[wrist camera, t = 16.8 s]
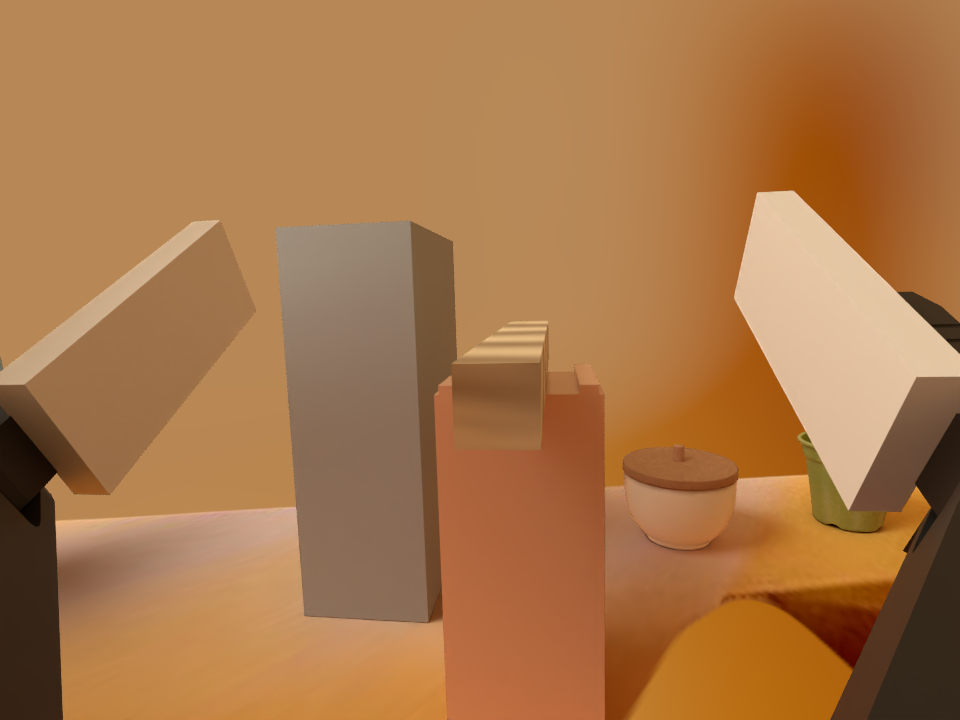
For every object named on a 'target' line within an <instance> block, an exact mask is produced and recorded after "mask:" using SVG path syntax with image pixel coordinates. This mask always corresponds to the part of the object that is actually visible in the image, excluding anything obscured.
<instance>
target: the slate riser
mask: <svg viewBox="0 0 960 720" xmlns="http://www.w3.org/2000/svg"><path fill="white" fill-rule="evenodd" d="M276 240H277V253H278V267H279V281H280V294H281V307H282V321H283V334H284V347H285V361H286V375H287V388H288V401H289V415H290V428H291V441H292V454H293V468H294V481H295V494H296V508H297V522H298V535H299V549H300V562H301V575H302V589H303V602H304V616H318V617H336V618H354V619H372V620H390V621H408V622H426V623H428V622H429V619H430V616H431V614H432V611H433V609H434V606H435V603H436V601H437V598H438V595H439V593H440V590H441V588H442V581H441V557H440V532H439V508H438V484H437V459H436V435H435V410H434V394H435V393H437V392H438V385H440V384H441V383H442V382H443V381H444V380H446V379H447V378H448V377H449V376H451V375H452V374H451V364H452V363H453V362H455V361H456V360H457V348H456V320H455V293H454V264H453V242H452V241H450V240H448V239H446V238H444V237H442V236H440V235H438V234H436V233H434V232H432V231H430V230H428V229H426V228H424V227H422V226H420V225H417V224H415V223H413V222H411V221H401V222H380V223H360V224H340V225H319V226H300V227H280V228H276Z"/></svg>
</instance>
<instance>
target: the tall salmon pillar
mask: <svg viewBox="0 0 960 720" xmlns="http://www.w3.org/2000/svg"><path fill="white" fill-rule="evenodd" d="M434 410H435V435H436V459H437V484H438V508H439V532H440V557H441V581H442V606H443V630H444V654H445V679H446V703H447V720H605V482H604V478H605V475H604V474H605V473H604V470H605V468H604V392H603V390H602V388H601V386H600V384H599V382H598V380H597V378H596V376H595V374H594V372H593V370H592V368H591V366H590V364H574V372H547V384H546V396H545V408H544V419H543V431H542V443H541V450H476V449H454V429H453V401H452V375H451V376H449V377H448V378H447V379H446V380H444V381H443V382H442V383H441V384H440V385H438V392H437V393H435V394H434Z"/></svg>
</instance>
